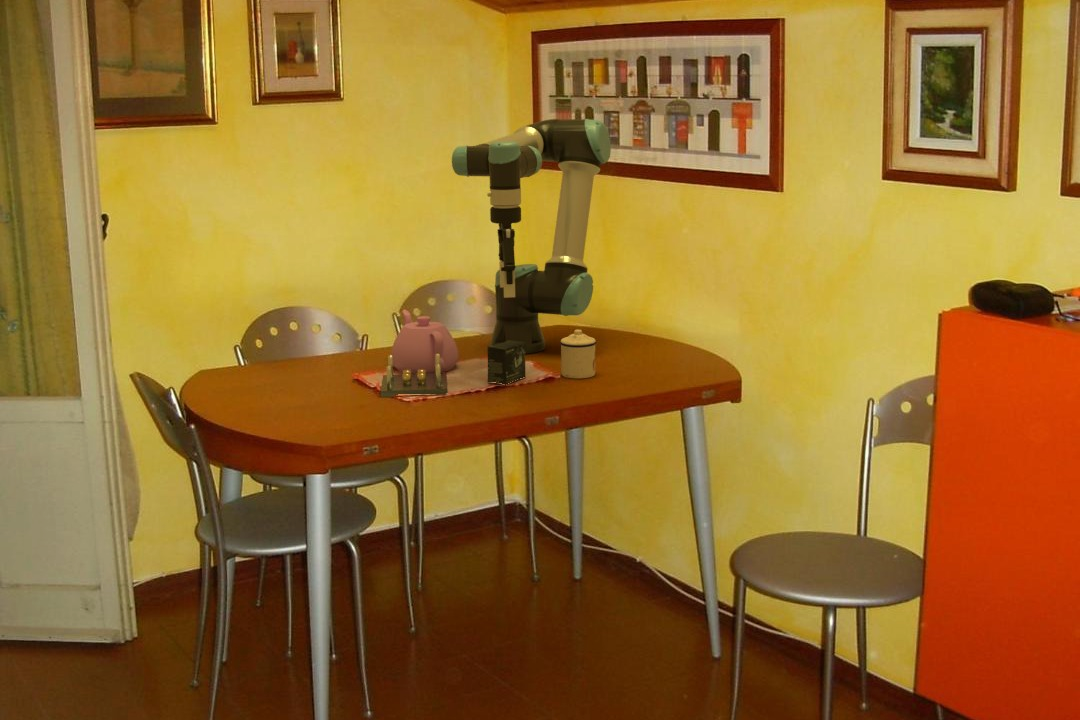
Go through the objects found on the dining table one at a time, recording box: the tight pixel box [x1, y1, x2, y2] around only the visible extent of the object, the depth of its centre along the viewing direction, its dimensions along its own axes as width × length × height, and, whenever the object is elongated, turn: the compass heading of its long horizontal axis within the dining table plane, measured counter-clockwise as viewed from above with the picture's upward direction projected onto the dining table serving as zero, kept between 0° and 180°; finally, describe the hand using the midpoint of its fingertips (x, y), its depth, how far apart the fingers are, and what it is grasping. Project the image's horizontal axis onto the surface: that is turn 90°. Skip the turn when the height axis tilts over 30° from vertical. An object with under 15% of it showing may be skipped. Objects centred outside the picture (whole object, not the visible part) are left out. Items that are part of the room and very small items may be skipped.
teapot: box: [390, 309, 460, 374], centre depth 347 cm, size 25×18×14 cm
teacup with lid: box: [559, 329, 597, 380], centre depth 337 cm, size 12×9×12 cm
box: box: [487, 340, 526, 386], centre depth 331 cm, size 9×6×10 cm, turn 147°
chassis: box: [380, 353, 448, 398], centre depth 326 cm, size 16×16×7 cm
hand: (507, 292), depth 327 cm, fingers open, 13 cm apart
